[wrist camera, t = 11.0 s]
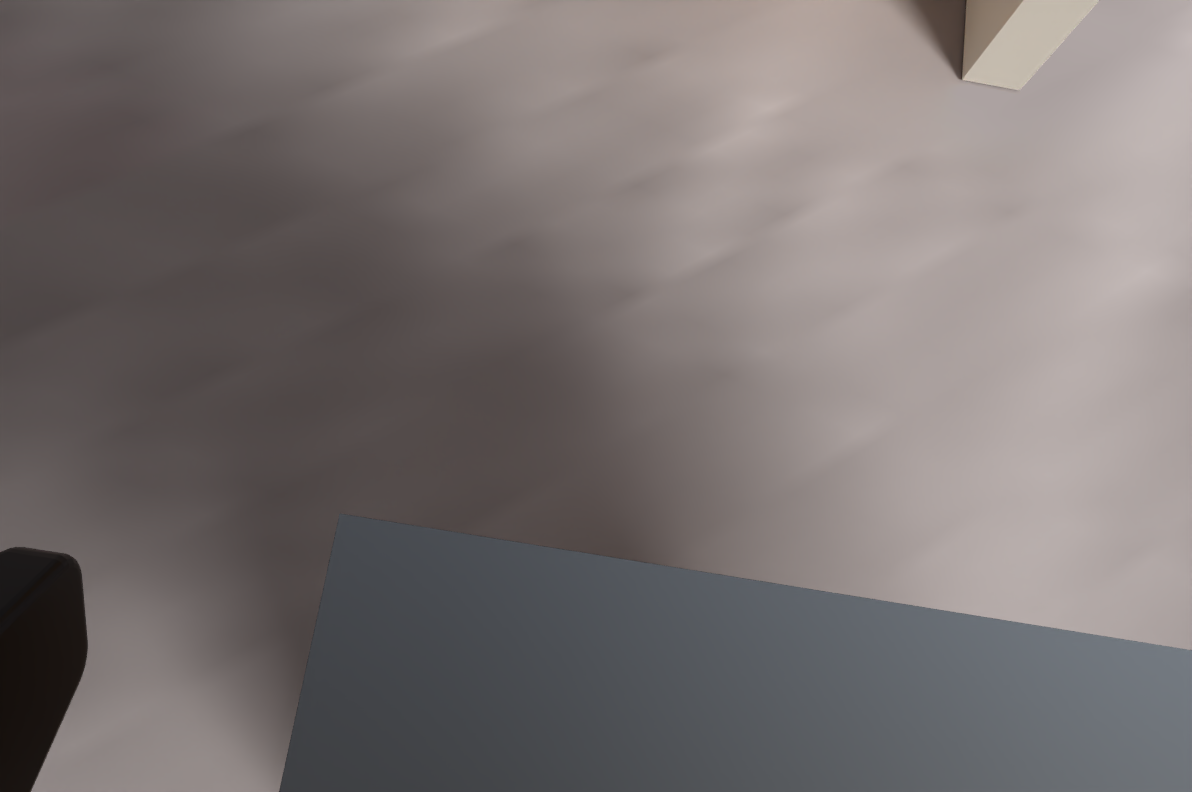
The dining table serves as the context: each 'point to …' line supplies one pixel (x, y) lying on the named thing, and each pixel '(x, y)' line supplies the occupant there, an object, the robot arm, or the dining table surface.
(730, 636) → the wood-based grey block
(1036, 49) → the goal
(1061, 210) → the dining table surface
